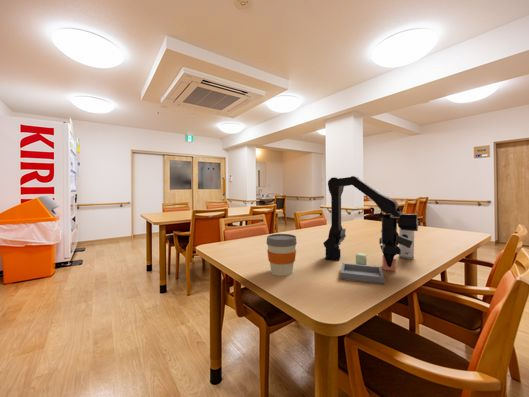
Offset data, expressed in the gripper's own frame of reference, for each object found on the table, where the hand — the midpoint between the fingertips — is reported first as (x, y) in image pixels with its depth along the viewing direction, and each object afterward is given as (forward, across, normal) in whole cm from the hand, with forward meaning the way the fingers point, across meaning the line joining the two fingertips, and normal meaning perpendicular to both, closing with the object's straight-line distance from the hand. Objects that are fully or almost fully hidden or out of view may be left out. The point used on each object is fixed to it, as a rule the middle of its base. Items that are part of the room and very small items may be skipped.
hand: (388, 264), depth 101 cm
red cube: (+2, 0, 0) cm, 2 cm away
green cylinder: (+2, 0, +11) cm, 11 cm away
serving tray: (+2, -13, +11) cm, 17 cm away
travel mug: (+2, +20, -10) cm, 22 cm away
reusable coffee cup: (+2, -19, +42) cm, 46 cm away
